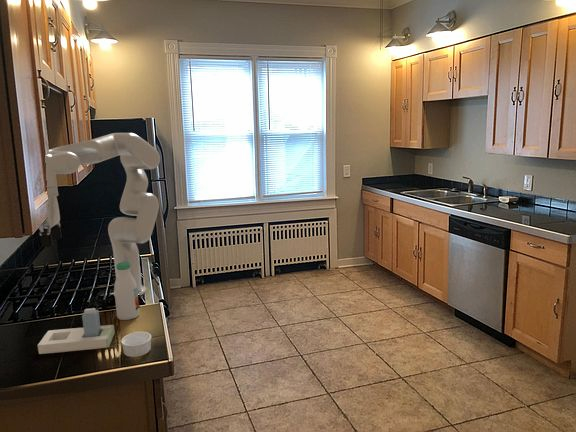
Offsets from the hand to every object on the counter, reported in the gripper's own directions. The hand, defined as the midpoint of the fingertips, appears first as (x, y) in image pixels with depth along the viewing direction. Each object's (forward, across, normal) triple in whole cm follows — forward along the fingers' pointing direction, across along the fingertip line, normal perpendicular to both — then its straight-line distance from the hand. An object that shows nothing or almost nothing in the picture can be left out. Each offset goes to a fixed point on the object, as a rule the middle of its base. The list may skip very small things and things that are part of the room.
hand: (52, 242), depth 157 cm
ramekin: (+31, +23, +28) cm, 47 cm away
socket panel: (+30, +14, +8) cm, 34 cm away
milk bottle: (+31, -4, +21) cm, 37 cm away
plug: (+30, +14, +13) cm, 36 cm away
